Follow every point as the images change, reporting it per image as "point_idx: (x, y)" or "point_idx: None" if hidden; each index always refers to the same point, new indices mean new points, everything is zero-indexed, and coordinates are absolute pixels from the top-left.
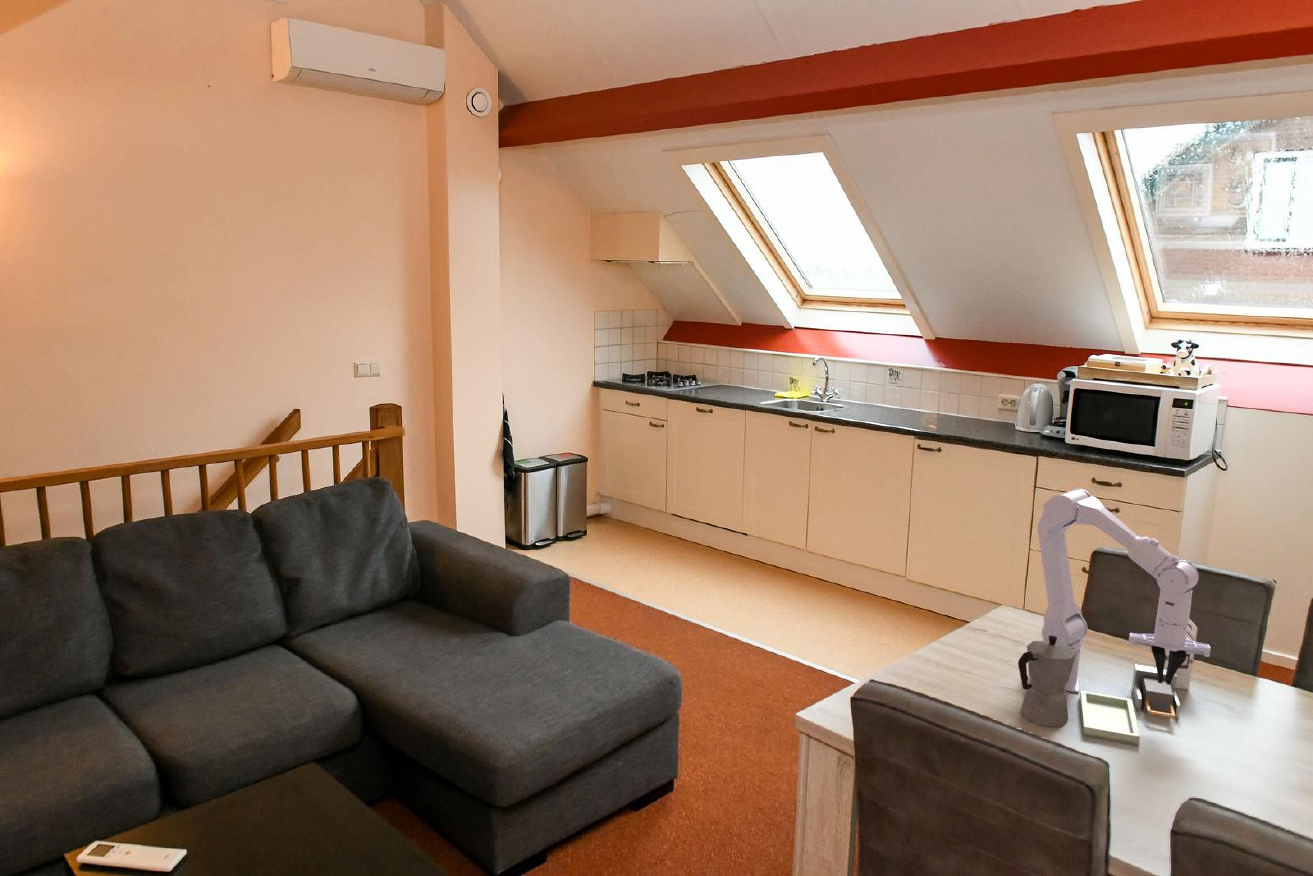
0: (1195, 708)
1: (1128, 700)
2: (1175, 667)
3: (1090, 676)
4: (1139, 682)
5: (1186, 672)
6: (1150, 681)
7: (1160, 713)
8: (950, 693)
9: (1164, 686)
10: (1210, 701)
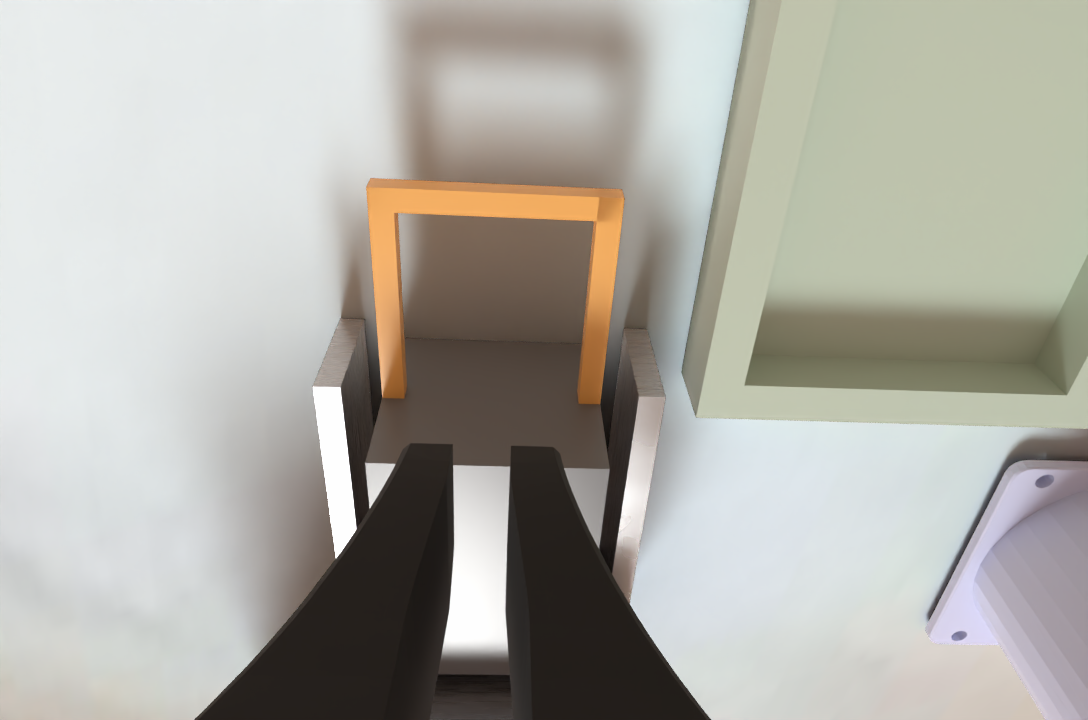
0: (222, 510)
1: (732, 385)
2: (294, 687)
3: (817, 674)
4: None
5: None
6: None
7: (507, 191)
8: None
9: None
10: (139, 617)
